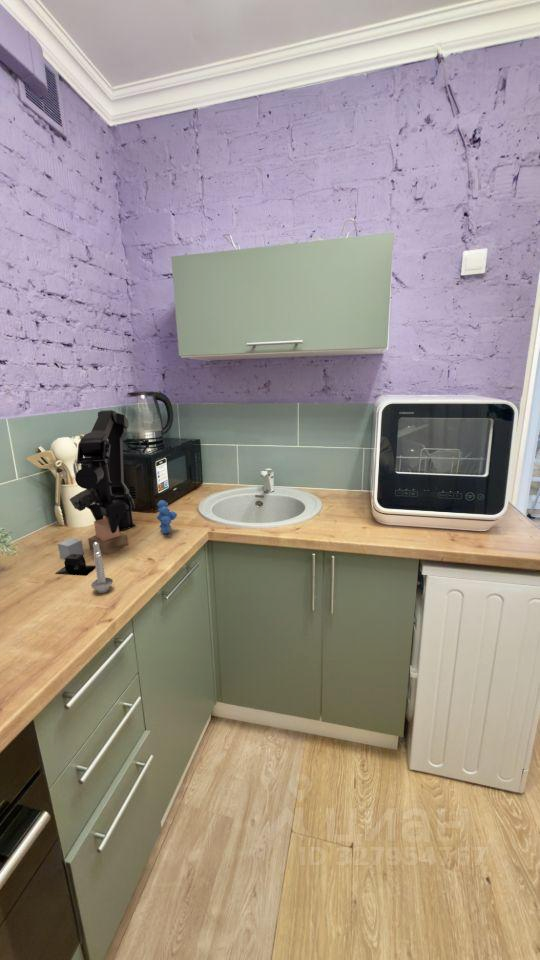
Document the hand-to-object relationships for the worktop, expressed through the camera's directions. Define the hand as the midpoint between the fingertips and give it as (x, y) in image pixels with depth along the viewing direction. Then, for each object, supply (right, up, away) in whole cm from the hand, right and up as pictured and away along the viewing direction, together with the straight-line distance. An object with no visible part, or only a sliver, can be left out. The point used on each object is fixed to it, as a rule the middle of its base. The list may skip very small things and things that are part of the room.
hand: (106, 528), depth 121 cm
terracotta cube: (0, -2, 0) cm, 2 cm away
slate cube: (-9, -8, -3) cm, 12 cm away
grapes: (+16, -3, +11) cm, 20 cm away
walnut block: (0, -6, +2) cm, 6 cm away
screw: (+9, -12, -24) cm, 28 cm away
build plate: (-3, -10, -12) cm, 16 cm away
